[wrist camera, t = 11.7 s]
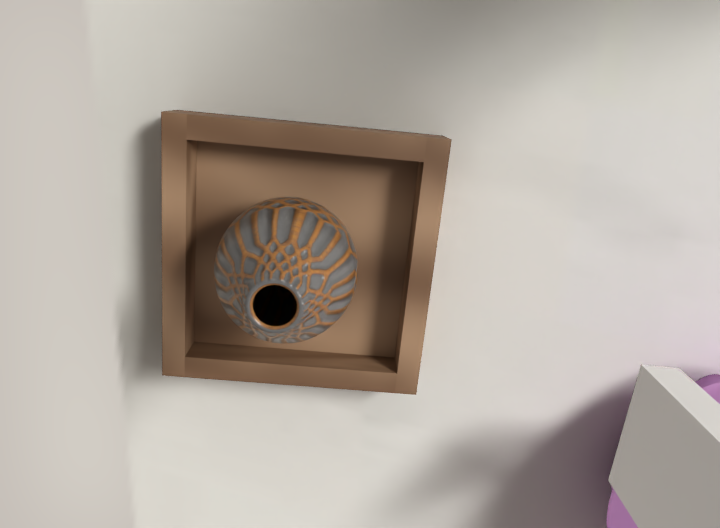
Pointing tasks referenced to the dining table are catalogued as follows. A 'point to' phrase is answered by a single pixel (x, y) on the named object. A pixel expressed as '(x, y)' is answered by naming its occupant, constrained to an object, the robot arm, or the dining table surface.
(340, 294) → the vase
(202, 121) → the walnut tray
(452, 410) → the dining table surface
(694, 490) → the robot arm
